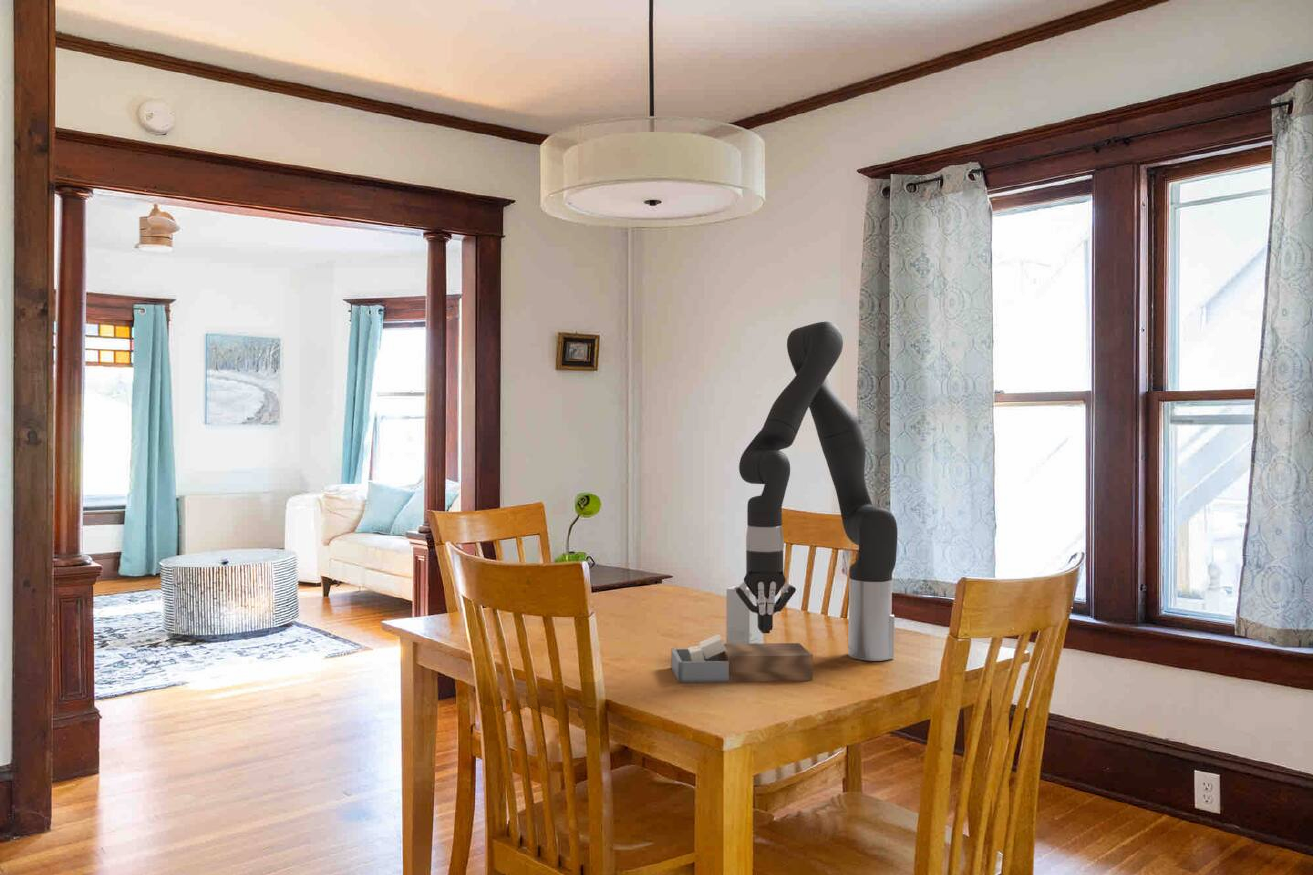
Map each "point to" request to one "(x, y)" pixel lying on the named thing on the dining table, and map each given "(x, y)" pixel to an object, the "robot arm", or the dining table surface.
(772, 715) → the dining table surface
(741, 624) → the skincare box
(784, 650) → the brown wooden block
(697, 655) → the tile
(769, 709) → the dining table surface
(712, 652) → the tile
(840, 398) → the robot arm
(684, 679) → the tray
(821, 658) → the dining table surface
